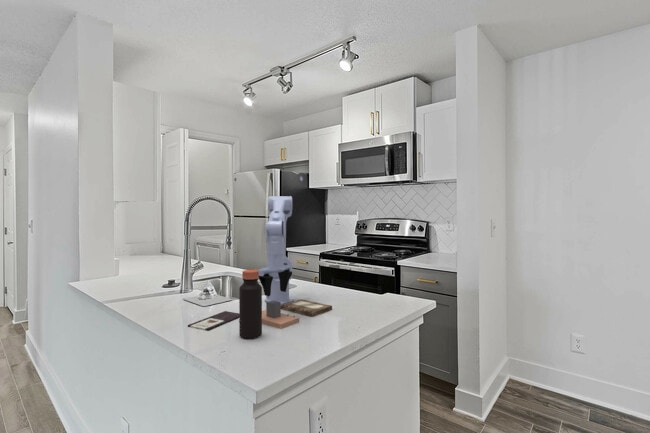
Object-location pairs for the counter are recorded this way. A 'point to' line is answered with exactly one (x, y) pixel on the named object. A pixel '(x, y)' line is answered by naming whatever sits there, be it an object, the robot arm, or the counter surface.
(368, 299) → the counter surface
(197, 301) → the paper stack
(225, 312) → the chocolate bar
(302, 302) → the board
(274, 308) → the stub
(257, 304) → the bottle
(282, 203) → the robot arm
